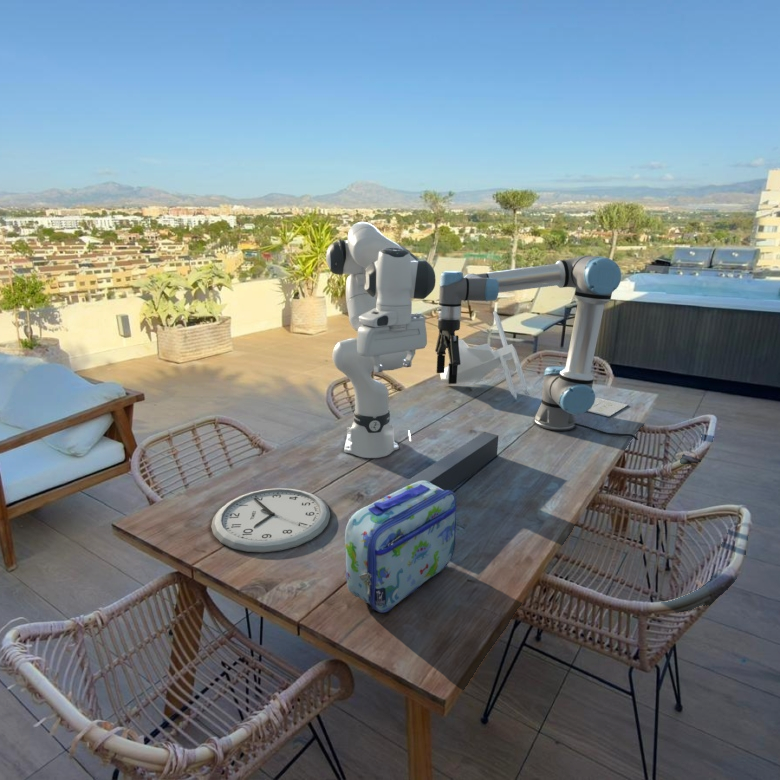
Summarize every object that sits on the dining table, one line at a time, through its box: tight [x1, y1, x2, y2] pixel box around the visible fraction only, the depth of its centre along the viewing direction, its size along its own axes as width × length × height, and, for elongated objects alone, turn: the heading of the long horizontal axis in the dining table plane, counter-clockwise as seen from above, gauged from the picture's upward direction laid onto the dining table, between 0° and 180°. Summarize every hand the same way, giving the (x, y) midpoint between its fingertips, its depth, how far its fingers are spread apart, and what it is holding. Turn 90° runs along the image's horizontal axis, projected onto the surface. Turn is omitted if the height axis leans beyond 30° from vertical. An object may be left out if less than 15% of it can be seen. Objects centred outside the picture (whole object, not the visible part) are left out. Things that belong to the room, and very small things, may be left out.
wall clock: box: [210, 487, 331, 553], centre depth 136 cm, size 30×2×30 cm
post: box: [379, 431, 499, 500], centre depth 154 cm, size 58×5×7 cm, turn 143°
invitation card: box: [586, 396, 629, 418], centre depth 226 cm, size 21×1×15 cm
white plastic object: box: [439, 310, 531, 400], centre depth 245 cm, size 37×45×31 cm
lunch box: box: [344, 481, 457, 614], centre depth 109 cm, size 26×11×21 cm, turn 135°
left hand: (392, 369), depth 134 cm, fingers open, 8 cm apart
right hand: (446, 378), depth 184 cm, fingers open, 13 cm apart
